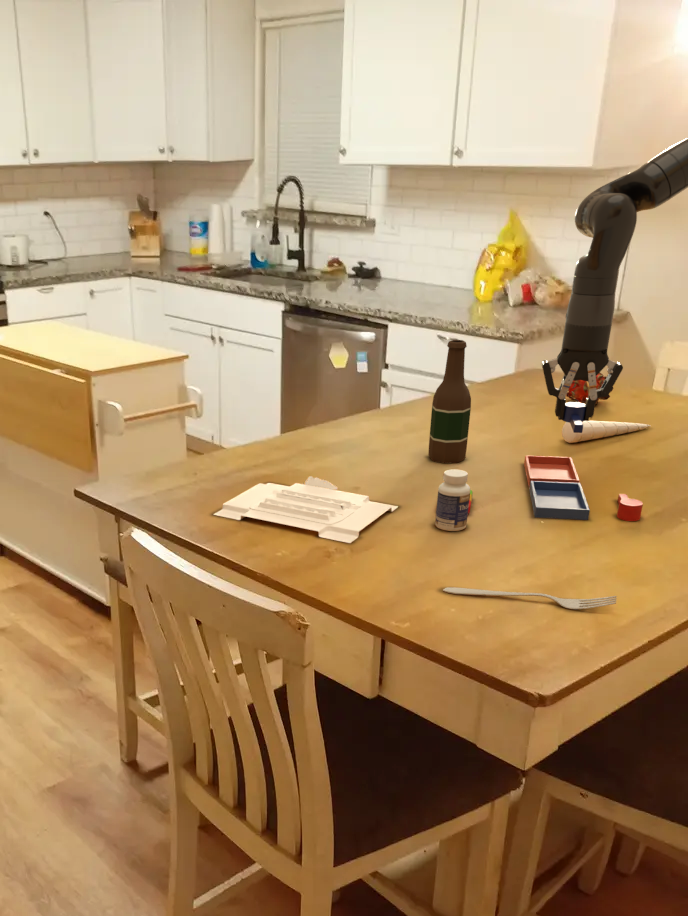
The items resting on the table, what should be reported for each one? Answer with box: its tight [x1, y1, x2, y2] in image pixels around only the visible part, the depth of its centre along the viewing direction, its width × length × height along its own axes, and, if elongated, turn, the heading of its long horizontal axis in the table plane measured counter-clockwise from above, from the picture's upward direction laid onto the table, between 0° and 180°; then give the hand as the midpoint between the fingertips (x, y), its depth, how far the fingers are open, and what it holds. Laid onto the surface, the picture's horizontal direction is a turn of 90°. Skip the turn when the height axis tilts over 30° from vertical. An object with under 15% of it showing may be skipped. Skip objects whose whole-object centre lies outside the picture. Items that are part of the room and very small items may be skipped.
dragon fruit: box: [565, 372, 614, 405], centre depth 233 cm, size 8×8×12 cm
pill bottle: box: [434, 468, 471, 532], centre depth 164 cm, size 5×5×10 cm
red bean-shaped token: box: [616, 493, 644, 522], centre depth 169 cm, size 10×4×3 cm, turn 167°
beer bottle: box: [428, 339, 472, 464], centre depth 194 cm, size 8×8×24 cm
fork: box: [442, 586, 618, 610], centre depth 139 cm, size 3×24×2 cm, turn 70°
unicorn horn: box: [561, 420, 652, 444], centre depth 209 cm, size 5×24×5 cm, turn 109°
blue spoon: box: [562, 401, 586, 433], centre depth 168 cm, size 10×4×3 cm, turn 167°
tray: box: [212, 475, 399, 544], centre depth 174 cm, size 20×28×4 cm
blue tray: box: [528, 481, 591, 521], centre depth 173 cm, size 9×14×2 cm, turn 167°
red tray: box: [523, 454, 580, 489], centre depth 187 cm, size 9×14×2 cm, turn 167°
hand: (573, 418), depth 171 cm, fingers closed on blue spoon, 3 cm apart
